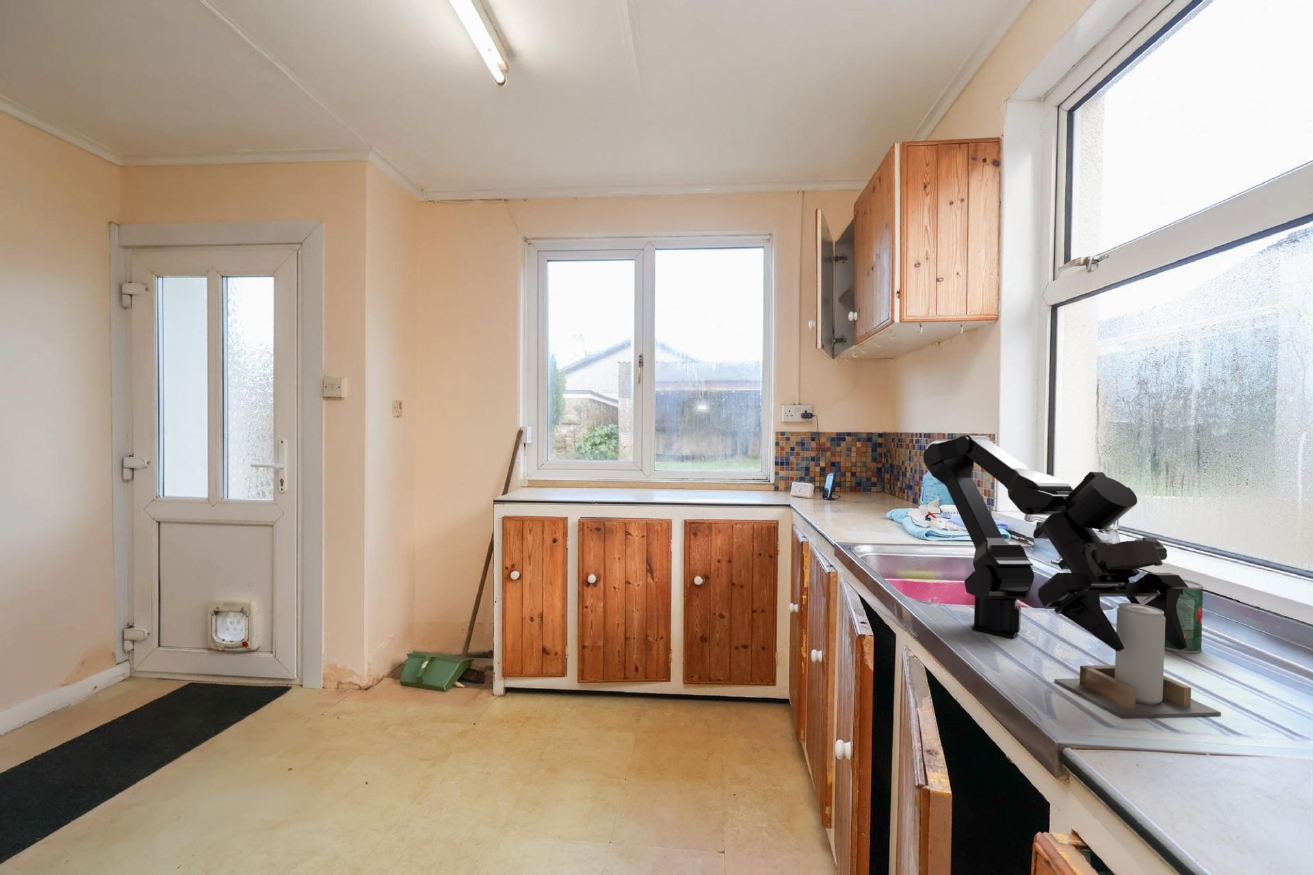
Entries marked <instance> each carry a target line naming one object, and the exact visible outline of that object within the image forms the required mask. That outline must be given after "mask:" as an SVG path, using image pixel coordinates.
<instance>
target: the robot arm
mask: <svg viewBox="0 0 1313 875" xmlns="http://www.w3.org/2000/svg"><path fill="white" fill-rule="evenodd" d="M922 460H923V462H924V465H925V466H926V468H927V471H929V473H930V475H931V476H932V477H933V478H934V479H935V480H937V481H939V482H940V483H941V484H943V485H944V487H946V489H947V491H948V493H949V495H950V498H951V500H952V502H953V504H954V505H955V509H956V510H957V513H958V514H959V516H960V519H961V521H962V523H963V524H964V527H965V530H966V532H967V533H968V536H969V538H970V539H971V542H972V544H973V546H974V549H975V550H974V556H973V561H972V565H973V569H974V571H973V572H972V573H971V574H970V575H968V576H967V578H965V580H964V581H963V582H964V587H965V591H966V594H970V595H971V596H974V611H973V613H974V614H973V615H974V616H973V617H974V618H973V623H972V625H971V629H972V630H974V631H980V632H984V633H988V634H992V635H998V636H1002V637H1005V638H1011V639H1014V638H1015V636H1016V635H1017V634H1018V633H1020V631H1021V623H1022V622H1021V621H1022V620H1021V619H1022V618H1021V616H1022V608H1021V606H1019V605H1018V600H1021V599H1022V600H1028V597H1029V593H1030V591H1031V588H1032V586H1033V583H1034V580H1035V573H1034V570H1033V568H1032V567H1033V566H1034V564H1033V562H1032V561H1031V560H1030V559H1029V558H1028V555H1027V552H1026V551H1025V548H1024V547H1023V546H1022V545H1021V544H1017V543H1016V544H1015V543H1011V544H1010V543H1009V542H1008V541H1006V540H1005V539H1004V537H1003V535H1002V533H1001V531H1000V529H999V527H998V525H997V524H996V522H995V520H994V518H993V515H992V513H991V512H990V510H989V508H988V506H987V504H986V502H985V500H984V499H983V496H982V495H981V493H980V490H979V489H978V486H977V485H976V482H975V481H974V478H973V477H972V476H973V472H974V467H975V464H976V465H978V466H979V467H980V468H982V469H983V470H984V471H985V472H986V473H988V474H989V475H990V476H991V477H992V478H994V479H995V480H996V481H997V482H999V483H1000V484H1002V485H1003V486H1004V487H1005V489H1007V497H1008V498H1009V500H1010V501H1011V502H1012V503H1013V505H1014V506H1015V507H1016V508H1017V509H1018V510H1019V511H1020V512H1021V513H1023V514H1024V515H1029V516H1031V515H1032V516H1048V517H1047V518H1046V519H1045V520H1043V521H1036V523H1035V524H1036V526H1035V529H1034V530H1033V535H1032V537H1033V538H1034V539H1037V540H1039V539H1042V540H1044V539H1046V540H1049V542H1050V543H1051V544H1052V547H1054V549H1055V551H1056V552H1057V554H1058V555H1059V557H1060V558H1061V560H1060V561H1059V562H1058V563H1057V565H1058V567H1059V568H1060V569H1061V570H1069V572H1056V573H1055V574H1053V576H1051V577H1050V578H1049V579H1047V580H1046V582H1044V583H1043V584H1042V585H1040V587H1038V590H1037V597H1038V599H1039V601H1040V602H1041V604H1042V606H1043V608H1044V609H1046V610H1051V609H1052V610H1054V613H1055V614H1057V615H1062V616H1064V618H1066V619H1068V620H1070V621H1072V622H1073V623H1075V624H1076V625H1078V626H1079V627H1081V628H1083V629H1084V630H1085V631H1086V632H1088V633H1090V634H1091V635H1092V636H1094V637H1095V638H1097V639H1098V640H1100V642H1103V643H1104V644H1105V645H1107V646H1108V647H1109V648H1111V649H1112V650H1114V651H1115V652H1116V651H1121V650H1123V649H1124V646H1123V644H1122V642H1121V640H1120V638H1119V636H1118V634H1117V633H1116V629H1115V628H1114V627H1113V624H1112V623H1111V621H1110V619H1109V618H1108V617H1107V615H1106V613H1105V611H1104V610H1103V608H1102V606H1101V598H1110V597H1112V598H1113V597H1118V598H1119V597H1121V598H1122V597H1126V599H1127V600H1128V602H1129V603H1134V604H1141V605H1146V606H1150V607H1154V608H1157V609H1160V610H1162V611H1163V612H1164V614H1163V615H1164V617H1165V639H1166V640H1167V641H1168V642H1169V643H1171V644H1172V645H1173V646H1174V647H1175V648H1177V649H1178V650H1184V649H1186V648H1187V643H1186V640H1185V637H1184V634H1183V631H1182V628H1181V625H1180V621H1179V618H1178V614H1177V609H1176V605H1177V601H1178V599H1179V598H1181V597H1182V596H1183V595H1184V592H1185V591H1186V590H1188V589H1189V587H1188V586H1187V584H1186V583H1185V582H1184V581H1183V580H1182V579H1183V578H1182V577H1181V576H1180V575H1179V574H1177V573H1172V572H1148V573H1146V574H1144V575H1142V576H1143V577H1142V578H1141V577H1140V578H1139V579H1138V580H1136V581H1134V582H1133V581H1131V580H1130V578H1135V577H1136V576H1138V575H1140V573H1141V572H1140V570H1138V569H1141V568H1147V567H1151V566H1155V567H1157V566H1158V567H1160V566H1162V565H1164V564H1163V560H1167V558H1168V553H1167V552H1168V550H1167V549H1166V547H1165V546H1164V545H1163V544H1162V543H1161V542H1160V541H1159V540H1158V539H1157V538H1156V537H1153V536H1152V537H1151V536H1149V537H1148V536H1143V537H1142V538H1140V539H1134V540H1125V541H1120V542H1115V543H1112V542H1103V541H1102V539H1101V538H1100V537H1099V535H1098V534H1097V533H1096V532H1095V530H1099V531H1103V530H1107V529H1108V528H1110V527H1111V526H1112V525H1113V524H1114V523H1115V522H1117V521H1118V520H1120V518H1122V517H1123V516H1124V515H1125V514H1127V513H1128V512H1129V511H1130V510H1131V509H1132V508H1134V507H1135V506H1136V505H1137V504H1138V497H1137V495H1136V494H1135V492H1134V491H1133V489H1131V488H1130V487H1127V486H1126V485H1125V484H1123V483H1122V482H1120V481H1118V480H1116V479H1113V478H1111V477H1108V476H1107V475H1106V474H1105V473H1104V472H1103V471H1089V472H1088V473H1087V474H1086V475H1085V476H1084V478H1083V479H1082V481H1080V482H1079V483H1078V484H1077V485H1076V487H1075V488H1074V489H1073V487H1072V485H1070V484H1069V483H1068V482H1066V481H1064V480H1063V479H1060V478H1058V477H1055V476H1053V475H1051V474H1047V473H1044V472H1039V471H1036V470H1033V469H1031V468H1029V467H1028V466H1027V465H1025V464H1024V463H1023V462H1021V461H1019V460H1018V458H1017V459H1016V457H1014V456H1012V455H1011V454H1010V453H1008V452H1007V451H1005V450H1004V449H1003V448H1001V447H1000V446H998V445H997V444H995V443H994V442H992V439H991V438H990V437H988V436H986V435H983V434H964V435H961V436H959V437H956V438H954V439H951V440H950V439H949V440H947V441H942V442H938V443H935V442H934V443H931V444H929V445H928V446H927V448H926V449H925V450H924V452H923V455H922ZM974 463H975V464H974Z"/></svg>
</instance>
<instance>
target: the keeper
mask: <svg viewBox="0 0 1313 875" xmlns="http://www.w3.org/2000/svg"><path fill="white" fill-rule="evenodd" d="M1053 681H1054V683H1055V684H1057V685H1060V686H1062V687H1064V688H1066V689H1067V690H1069V691H1070V692H1073V693H1075V694H1076V695H1078V696H1079V697H1082V698H1084V699H1086V700H1087V701H1089V702H1091V703H1093V704H1094V705H1096V706H1097V707H1100V706H1101V707H1100V708H1102V709H1104V710H1106V711H1107V710H1108V711H1107V712H1110V713H1111V712H1112V714H1113V715H1115V716H1117V717H1118V716H1119V717H1118V718H1120V719H1141V718H1142V719H1143V718H1144V719H1146V718H1147V719H1148V718H1149V719H1150V718H1151V719H1152V718H1174V717H1175V718H1176V717H1178V718H1179V717H1180V718H1181V717H1182V718H1183V717H1206V716H1208V717H1210V716H1212V717H1213V716H1221V715H1222V712H1221V711H1219V710H1217V709H1214V708H1213V707H1210V706H1208V705H1206V704H1204V703H1201V702H1199V701H1197V700H1194V699H1192V687H1191V686H1189V685H1186V684H1184V683H1181V682H1180V681H1177V680H1174V679H1172V678H1170V677H1167V676H1165V675H1163V699H1162V701H1161V702H1160V703H1158V704H1154V705H1150V704H1143V703H1139V702H1135V700H1136V689H1135V688H1133V687H1131V686H1129V685H1126V684H1124V683H1122V682H1120V681H1118V680H1116V679H1115V664H1108V665H1107V664H1100V665H1099V664H1097V665H1096V664H1095V665H1080V666H1079V677H1075V678H1054V680H1053Z"/></svg>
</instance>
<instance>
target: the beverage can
mask: <svg viewBox="0 0 1313 875" xmlns="http://www.w3.org/2000/svg"><path fill="white" fill-rule="evenodd" d="M1163 614H1164V612H1163V611H1162V610H1160V609H1157V608H1154V607H1150V606H1146V605H1141V604H1134V603H1131V602H1121V603H1118V608H1117V609H1116V626H1115V631H1116V633H1117V634H1118V636H1119V638H1120V640H1121V642H1122V644H1123V646H1124V649H1123V650H1121V651H1115V654H1114V655H1115V660H1114V665H1115V679H1116V680H1118V681H1120V682H1122V683H1124V684H1126V685H1129V686H1131V687H1133V688H1135V689H1136V700H1135V702H1139V703H1143V704H1150V705H1154V704H1158V703H1160V702H1161V701H1162V699H1163V676H1164V671H1165V670H1164V669H1165V668H1164V667H1165V649H1164V645H1165V617H1164V615H1163Z"/></svg>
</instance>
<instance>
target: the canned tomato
mask: <svg viewBox="0 0 1313 875" xmlns="http://www.w3.org/2000/svg"><path fill="white" fill-rule="evenodd" d="M1143 576H1144V575H1141V576H1140V578H1142V577H1143ZM1182 580H1183V581H1184V582H1185V583H1186V584H1187V586H1188V587H1189V589H1188V590H1186V591H1185V592H1184V595H1183V596H1182V597H1181V598H1179V599H1178V601H1177V605H1176V609H1177V614H1178V618H1179V621H1180V625H1181V628H1182V631H1183V634H1184V637H1185V640H1186V643H1187V648H1186V649H1184V650H1178V649H1177V648H1175V647H1174V646H1173V645H1172V644H1171V643H1169V642H1168V641H1167V640H1166V639H1165V645H1164V650H1167V651H1172V652H1175V653H1176V652H1177V653H1184V654H1199V653H1202V652H1203V649H1202V644H1203V643H1202V641H1203V637H1202V636H1203V608H1204V606H1203V603H1204V602H1203V600H1204V594H1203V593H1204V592H1203V590H1204V585H1203V584H1201V583H1198V582H1196V581H1192V580H1187V579H1184V578H1182Z"/></svg>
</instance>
